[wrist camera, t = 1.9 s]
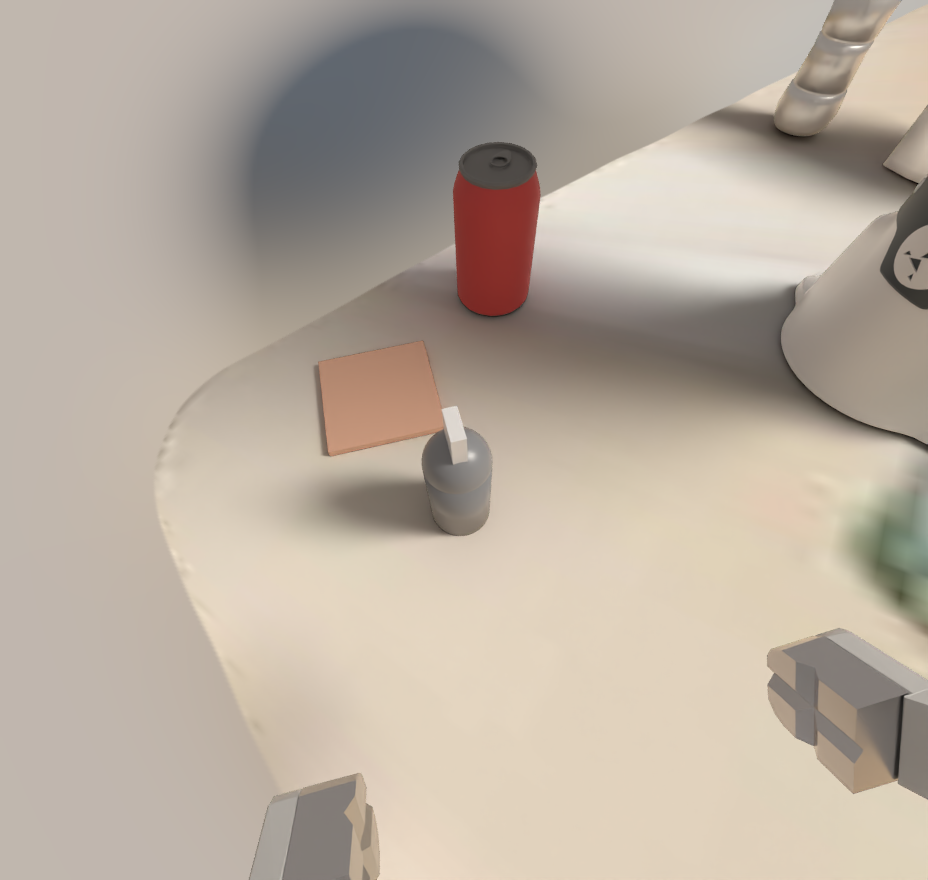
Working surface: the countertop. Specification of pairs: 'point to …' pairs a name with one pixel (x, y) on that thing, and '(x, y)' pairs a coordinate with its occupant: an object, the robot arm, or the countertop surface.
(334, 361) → the tile
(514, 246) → the beer can
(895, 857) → the countertop surface
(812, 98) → the plastic bottle
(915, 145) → the white rounded block
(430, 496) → the grey pump bottle
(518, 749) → the countertop surface
